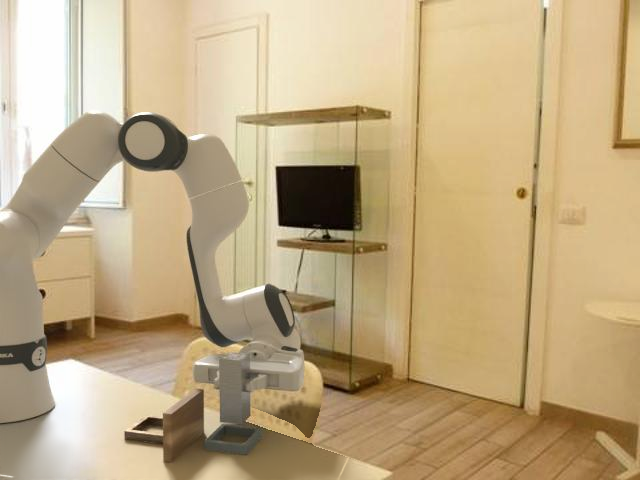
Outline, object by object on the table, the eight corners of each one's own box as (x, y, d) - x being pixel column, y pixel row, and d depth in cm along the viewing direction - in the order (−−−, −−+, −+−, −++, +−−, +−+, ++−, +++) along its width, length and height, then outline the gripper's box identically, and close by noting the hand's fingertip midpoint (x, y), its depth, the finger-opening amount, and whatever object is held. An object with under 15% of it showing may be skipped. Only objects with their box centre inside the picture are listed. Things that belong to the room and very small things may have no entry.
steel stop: (219, 422, 104) (219, 358, 103) (229, 413, 108) (228, 352, 107) (242, 424, 103) (241, 360, 102) (250, 415, 107) (249, 353, 106)
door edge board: (163, 461, 99) (162, 413, 98) (196, 431, 110) (195, 388, 109) (171, 462, 98) (171, 414, 98) (204, 432, 110) (203, 389, 109)
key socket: (124, 439, 107) (124, 431, 107) (147, 422, 114) (147, 414, 114) (164, 444, 105) (164, 435, 105) (184, 427, 112) (184, 419, 112)
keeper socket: (204, 449, 103) (204, 441, 103) (222, 431, 110) (222, 423, 110) (246, 455, 101) (246, 446, 101) (262, 436, 109) (262, 428, 108)
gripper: (210, 342, 120) (176, 363, 106) (311, 350, 115) (289, 373, 101) (210, 374, 120) (177, 398, 107) (311, 383, 115) (289, 410, 102)
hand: (233, 386), depth 104 cm, fingers closed on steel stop, 4 cm apart
